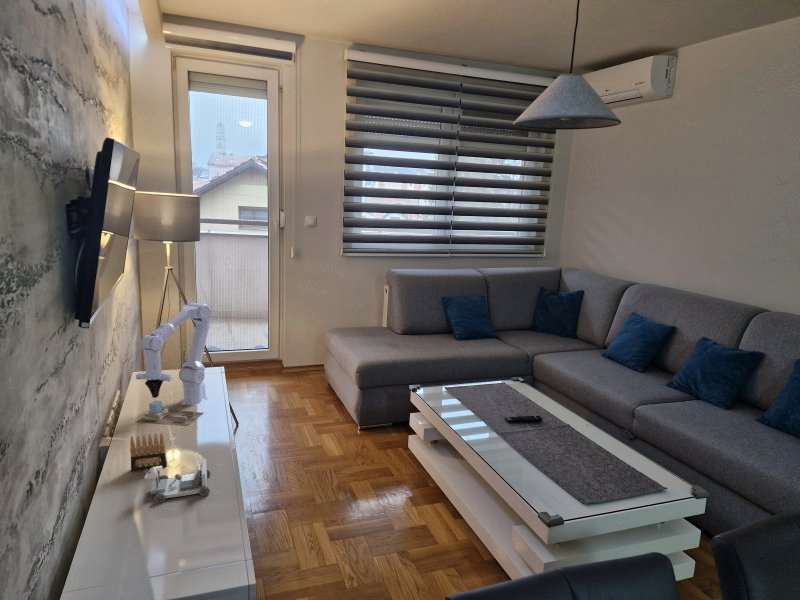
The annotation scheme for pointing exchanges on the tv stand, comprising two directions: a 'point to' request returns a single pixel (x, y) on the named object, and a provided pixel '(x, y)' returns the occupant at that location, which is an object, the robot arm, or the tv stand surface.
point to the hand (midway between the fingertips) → (155, 396)
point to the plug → (155, 407)
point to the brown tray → (171, 417)
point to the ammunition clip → (147, 453)
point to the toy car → (179, 483)
